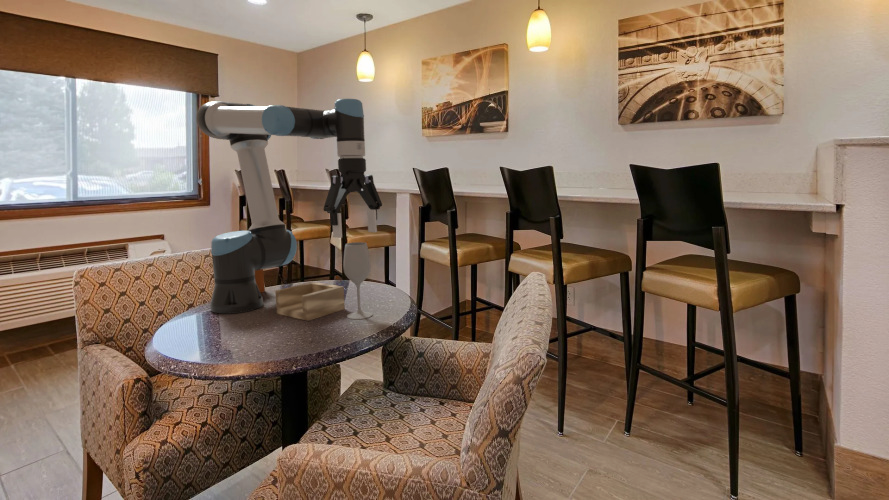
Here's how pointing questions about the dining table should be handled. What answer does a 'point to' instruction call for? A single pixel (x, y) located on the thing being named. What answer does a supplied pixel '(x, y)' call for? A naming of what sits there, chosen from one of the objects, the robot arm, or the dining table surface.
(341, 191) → the robot arm
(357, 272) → the wineglass
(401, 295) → the dining table surface
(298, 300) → the tan wooden open box
